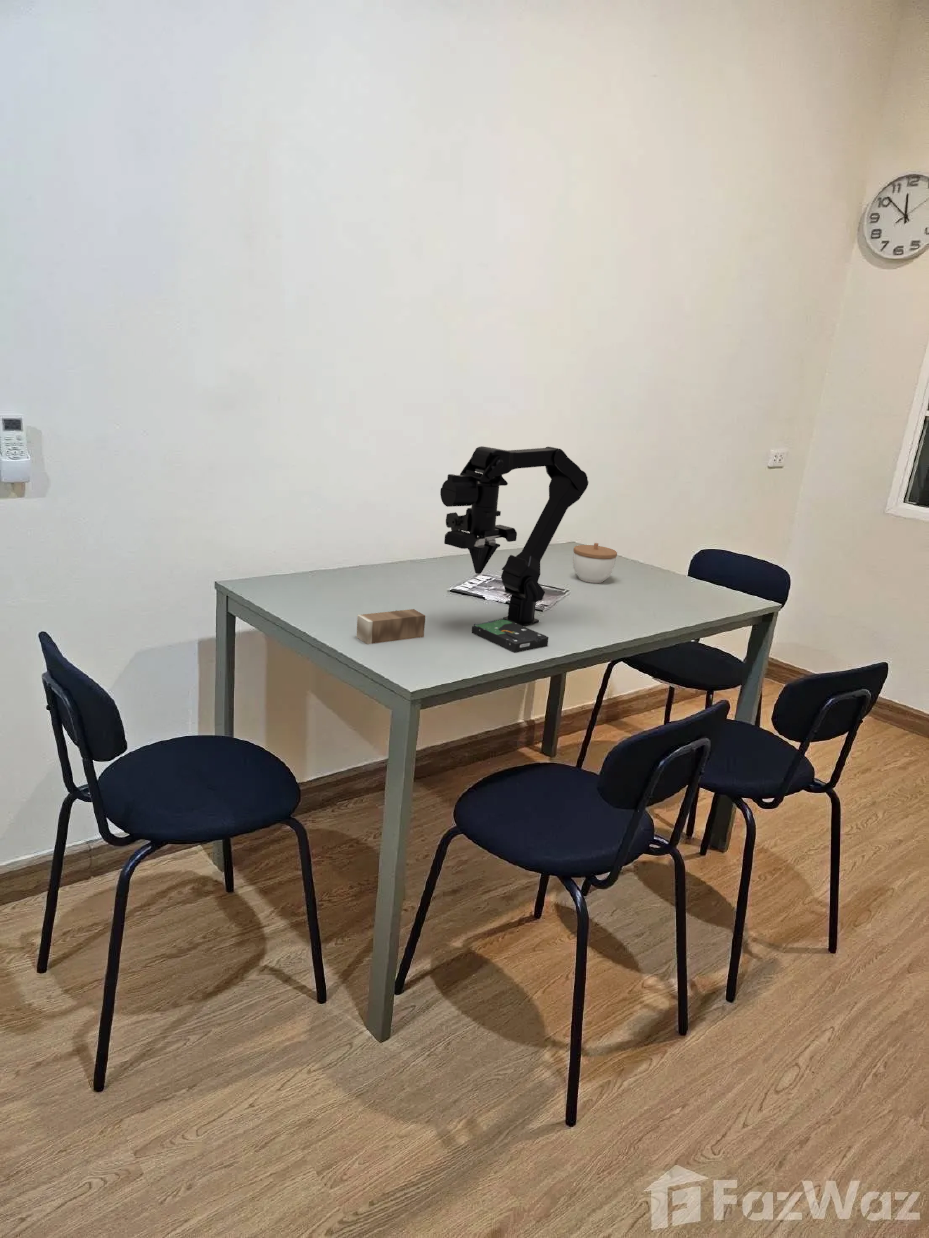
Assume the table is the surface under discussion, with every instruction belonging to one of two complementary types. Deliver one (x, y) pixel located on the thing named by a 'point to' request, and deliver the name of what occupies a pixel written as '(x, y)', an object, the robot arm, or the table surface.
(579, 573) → the lidded bowl
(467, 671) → the table surface
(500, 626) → the disk drive
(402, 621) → the walnut block
